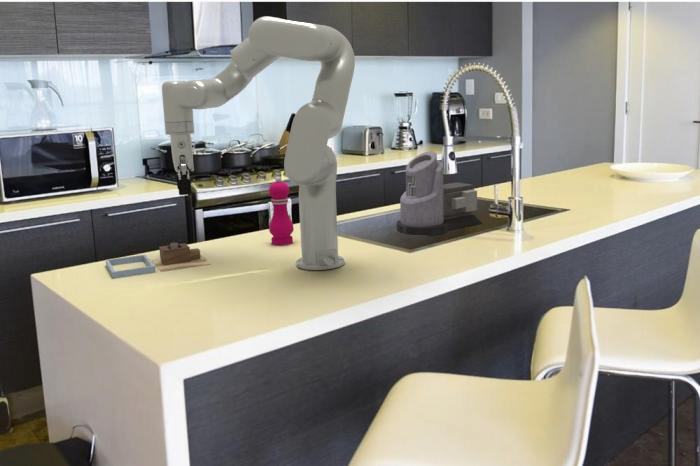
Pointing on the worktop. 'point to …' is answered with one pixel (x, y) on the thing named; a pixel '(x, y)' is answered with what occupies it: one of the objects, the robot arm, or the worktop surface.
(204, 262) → the stake board
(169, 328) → the worktop surface
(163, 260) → the collar
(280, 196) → the pepper mill
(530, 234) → the worktop surface
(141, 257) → the tray
